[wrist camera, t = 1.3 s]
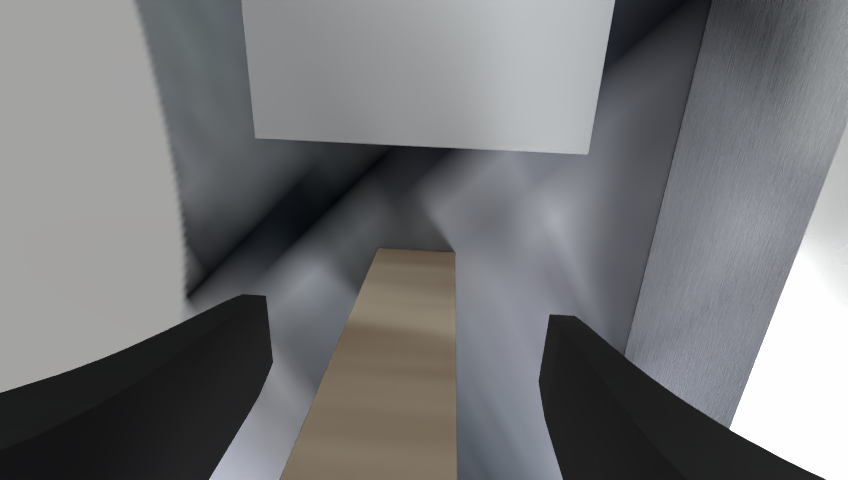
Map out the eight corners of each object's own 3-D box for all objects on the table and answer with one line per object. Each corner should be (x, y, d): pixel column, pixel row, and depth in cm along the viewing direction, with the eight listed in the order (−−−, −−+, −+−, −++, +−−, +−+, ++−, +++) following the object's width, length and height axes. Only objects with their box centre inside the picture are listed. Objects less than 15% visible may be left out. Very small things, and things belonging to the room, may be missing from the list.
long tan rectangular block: (450, 319, 14) (445, 670, 6) (378, 314, 14) (273, 652, 6) (455, 252, 13) (458, 552, 5) (378, 248, 14) (255, 534, 5)
